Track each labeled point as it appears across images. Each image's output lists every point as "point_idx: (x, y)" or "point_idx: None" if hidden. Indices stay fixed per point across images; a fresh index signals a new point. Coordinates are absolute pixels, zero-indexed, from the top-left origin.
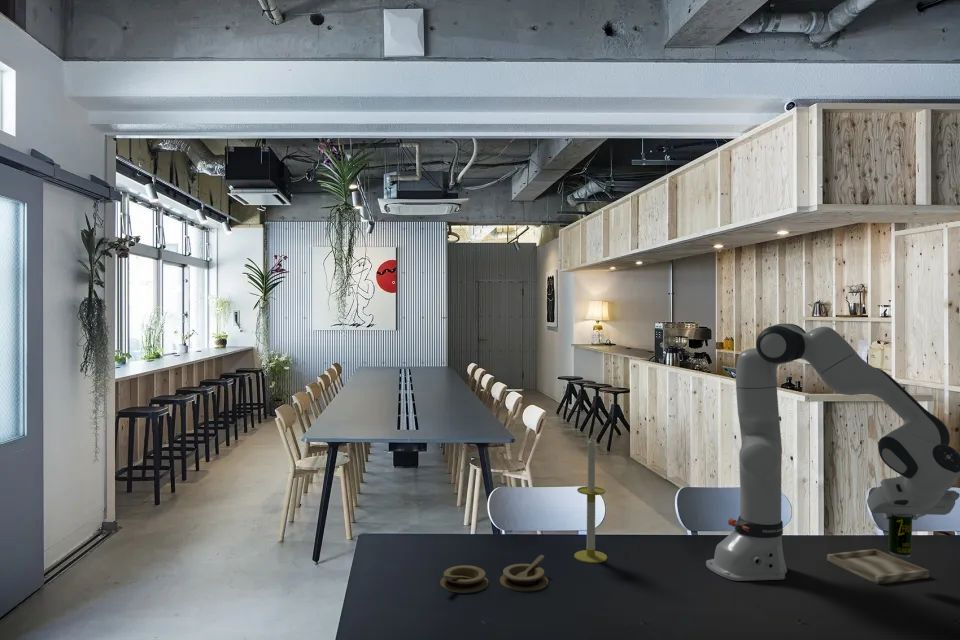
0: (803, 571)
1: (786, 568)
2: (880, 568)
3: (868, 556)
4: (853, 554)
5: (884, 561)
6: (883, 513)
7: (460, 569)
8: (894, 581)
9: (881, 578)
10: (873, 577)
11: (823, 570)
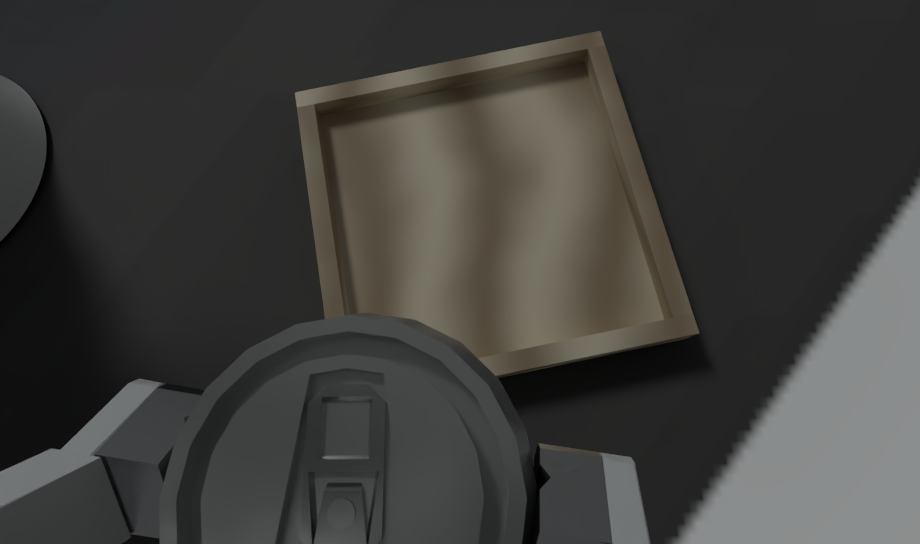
0: (101, 225)
1: (11, 214)
2: (481, 240)
3: (529, 89)
4: (448, 82)
5: (567, 153)
6: (123, 401)
7: None
8: None
9: None
10: None
11: (205, 218)
